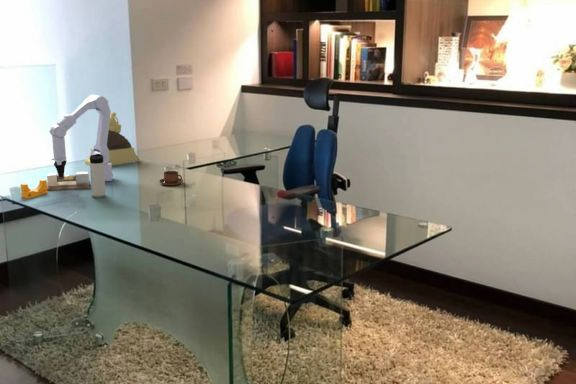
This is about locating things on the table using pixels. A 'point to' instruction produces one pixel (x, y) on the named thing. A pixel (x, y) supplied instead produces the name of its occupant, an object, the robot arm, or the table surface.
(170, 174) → the cup and saucer
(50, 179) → the white square block
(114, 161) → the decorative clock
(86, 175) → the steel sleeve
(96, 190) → the travel mug
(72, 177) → the block with brass knob
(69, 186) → the walnut board
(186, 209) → the table surface
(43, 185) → the yellow u-shaped block
